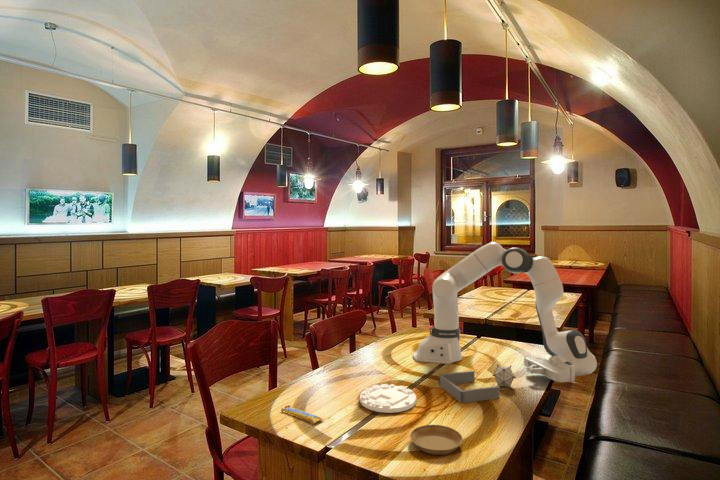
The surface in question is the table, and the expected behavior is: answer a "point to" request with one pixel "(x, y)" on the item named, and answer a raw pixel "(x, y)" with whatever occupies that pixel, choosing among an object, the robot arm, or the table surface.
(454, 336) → the robot arm
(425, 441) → the plant saucer
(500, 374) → the game die
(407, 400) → the embossed medallion
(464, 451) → the table surface
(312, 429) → the table surface
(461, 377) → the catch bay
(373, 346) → the table surface
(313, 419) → the candy bar
